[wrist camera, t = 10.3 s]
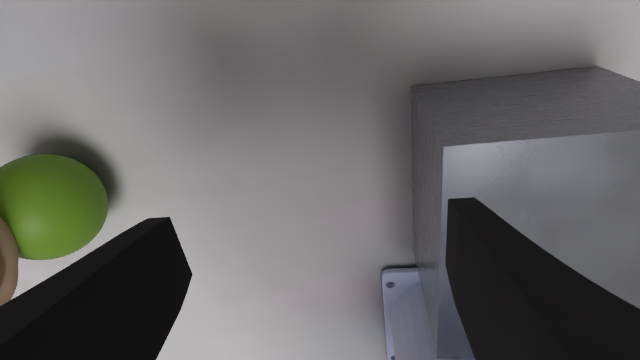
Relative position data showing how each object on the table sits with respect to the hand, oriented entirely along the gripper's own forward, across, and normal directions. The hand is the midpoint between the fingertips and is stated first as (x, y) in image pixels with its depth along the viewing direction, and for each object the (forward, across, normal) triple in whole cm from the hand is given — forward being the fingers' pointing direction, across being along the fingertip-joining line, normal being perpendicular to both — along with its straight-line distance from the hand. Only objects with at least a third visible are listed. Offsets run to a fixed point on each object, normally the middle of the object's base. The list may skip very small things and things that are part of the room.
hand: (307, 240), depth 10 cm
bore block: (+10, -8, +4) cm, 13 cm away
